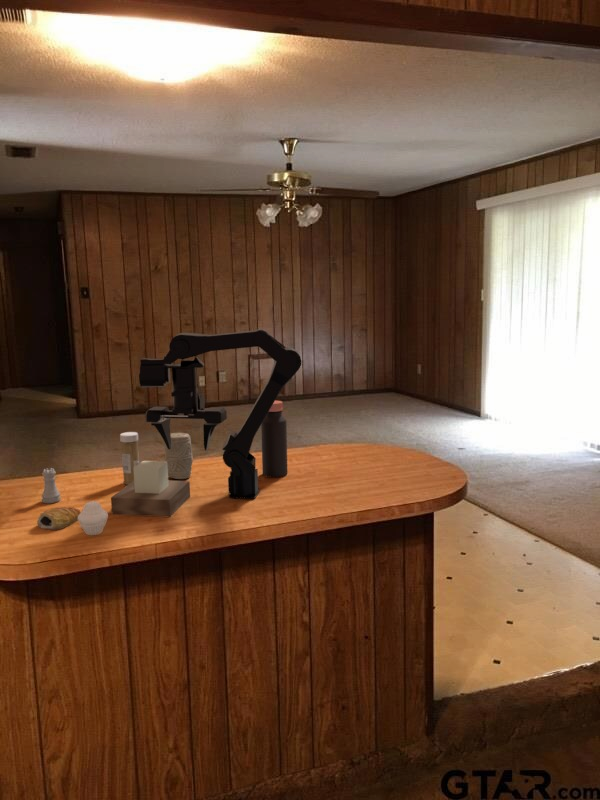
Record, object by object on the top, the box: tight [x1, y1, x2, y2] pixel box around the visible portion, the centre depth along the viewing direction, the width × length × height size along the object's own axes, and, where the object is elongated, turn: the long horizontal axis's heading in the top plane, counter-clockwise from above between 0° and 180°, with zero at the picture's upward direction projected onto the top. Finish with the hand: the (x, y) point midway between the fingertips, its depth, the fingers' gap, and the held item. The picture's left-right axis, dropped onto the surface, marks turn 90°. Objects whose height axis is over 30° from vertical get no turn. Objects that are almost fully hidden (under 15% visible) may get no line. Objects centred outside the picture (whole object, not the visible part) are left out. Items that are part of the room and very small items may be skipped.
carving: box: [164, 432, 194, 480], centre depth 180 cm, size 6×8×12 cm
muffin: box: [77, 501, 109, 536], centre depth 143 cm, size 6×6×7 cm
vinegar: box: [260, 400, 288, 478], centre depth 181 cm, size 7×7×20 cm
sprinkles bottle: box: [119, 431, 140, 486], centre depth 176 cm, size 5×5×14 cm
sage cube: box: [133, 460, 169, 494], centre depth 159 cm, size 6×6×6 cm
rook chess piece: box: [41, 467, 62, 504], centre depth 164 cm, size 4×4×8 cm
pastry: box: [36, 506, 82, 531], centre depth 150 cm, size 9×7×4 cm
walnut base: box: [110, 479, 191, 518], centre depth 160 cm, size 14×14×4 cm
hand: (187, 449), depth 164 cm, fingers open, 9 cm apart
